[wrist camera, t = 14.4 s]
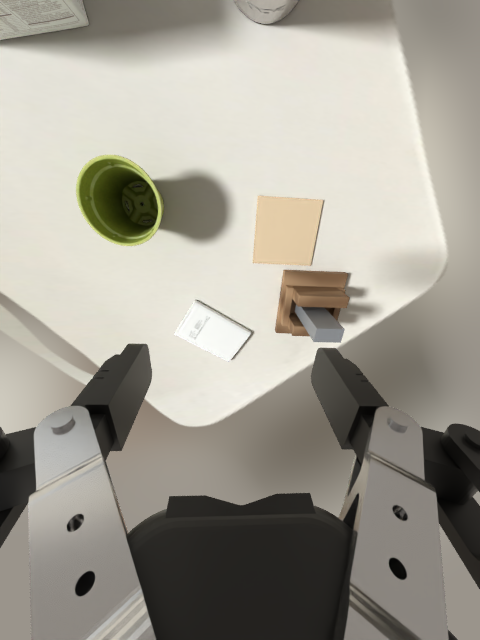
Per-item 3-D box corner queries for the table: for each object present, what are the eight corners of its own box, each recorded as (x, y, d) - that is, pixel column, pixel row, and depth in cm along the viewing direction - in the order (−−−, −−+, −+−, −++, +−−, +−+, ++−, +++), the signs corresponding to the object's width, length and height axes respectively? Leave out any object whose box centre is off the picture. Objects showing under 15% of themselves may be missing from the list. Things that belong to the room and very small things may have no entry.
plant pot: (165, 161, 32) (146, 147, 24) (182, 232, 36) (170, 240, 28) (100, 172, 32) (60, 161, 24) (124, 241, 36) (97, 251, 29)
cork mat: (257, 196, 34) (258, 195, 34) (322, 200, 35) (323, 200, 35) (252, 262, 39) (252, 263, 39) (310, 265, 40) (310, 265, 39)
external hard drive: (228, 358, 48) (175, 331, 45) (250, 329, 46) (195, 298, 42) (228, 362, 47) (173, 335, 43) (251, 333, 44) (194, 301, 40)
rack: (283, 269, 40) (292, 280, 34) (344, 272, 40) (363, 283, 35) (275, 329, 45) (281, 347, 40) (329, 331, 46) (343, 348, 40)
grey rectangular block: (296, 300, 41) (316, 328, 32) (318, 300, 41) (344, 329, 32) (294, 311, 42) (313, 341, 33) (315, 311, 42) (340, 342, 33)
